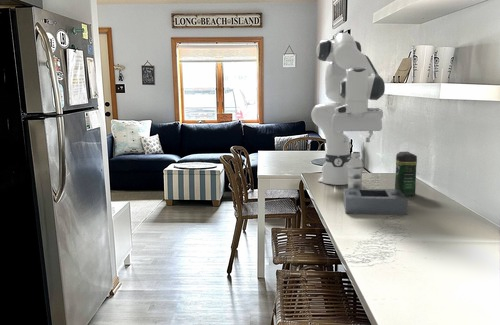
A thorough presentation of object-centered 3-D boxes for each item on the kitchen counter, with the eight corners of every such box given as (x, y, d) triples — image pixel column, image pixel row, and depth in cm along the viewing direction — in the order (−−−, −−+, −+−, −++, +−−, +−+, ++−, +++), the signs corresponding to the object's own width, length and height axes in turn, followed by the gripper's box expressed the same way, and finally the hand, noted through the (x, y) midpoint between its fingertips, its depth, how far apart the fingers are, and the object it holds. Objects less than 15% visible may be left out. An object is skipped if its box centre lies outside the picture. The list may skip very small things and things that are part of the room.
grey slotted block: (343, 202, 174) (343, 187, 173) (399, 203, 170) (399, 188, 169) (345, 213, 159) (345, 197, 158) (406, 214, 156) (407, 198, 155)
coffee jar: (417, 196, 179) (419, 153, 176) (398, 197, 180) (400, 154, 177) (410, 191, 189) (412, 150, 186) (392, 191, 190) (394, 150, 186)
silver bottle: (356, 202, 174) (357, 154, 170) (343, 199, 179) (344, 152, 175) (366, 199, 178) (367, 152, 174) (353, 196, 183) (353, 150, 179)
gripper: (382, 107, 173) (381, 141, 175) (331, 108, 176) (330, 141, 179) (384, 108, 167) (383, 142, 169) (331, 109, 170) (331, 143, 173)
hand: (355, 142), depth 174 cm, fingers open, 8 cm apart
